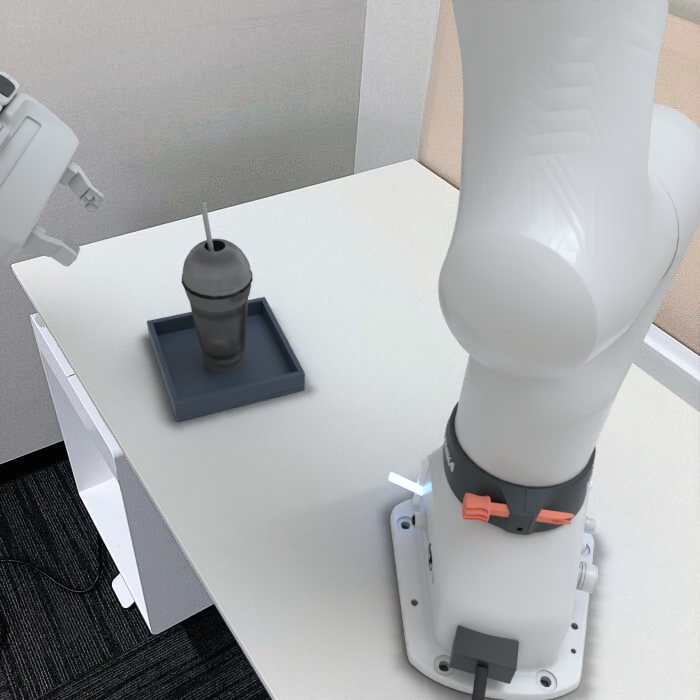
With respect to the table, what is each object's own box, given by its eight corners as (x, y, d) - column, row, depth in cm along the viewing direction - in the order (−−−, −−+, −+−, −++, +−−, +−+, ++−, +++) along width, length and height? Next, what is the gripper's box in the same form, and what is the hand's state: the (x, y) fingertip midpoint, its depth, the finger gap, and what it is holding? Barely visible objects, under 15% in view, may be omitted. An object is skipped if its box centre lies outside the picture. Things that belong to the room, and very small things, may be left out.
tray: (304, 390, 82) (305, 373, 80) (176, 422, 77) (174, 405, 75) (265, 313, 91) (264, 296, 89) (149, 337, 87) (146, 320, 85)
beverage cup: (224, 391, 80) (211, 235, 67) (177, 361, 83) (156, 206, 70) (269, 356, 84) (265, 204, 71) (223, 329, 88) (211, 178, 74)
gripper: (-77, 167, 56) (78, 276, 63) (11, 64, 71) (129, 161, 78) (-116, 215, 59) (37, 314, 66) (-23, 106, 74) (93, 196, 81)
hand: (87, 230), depth 72 cm, fingers open, 8 cm apart
